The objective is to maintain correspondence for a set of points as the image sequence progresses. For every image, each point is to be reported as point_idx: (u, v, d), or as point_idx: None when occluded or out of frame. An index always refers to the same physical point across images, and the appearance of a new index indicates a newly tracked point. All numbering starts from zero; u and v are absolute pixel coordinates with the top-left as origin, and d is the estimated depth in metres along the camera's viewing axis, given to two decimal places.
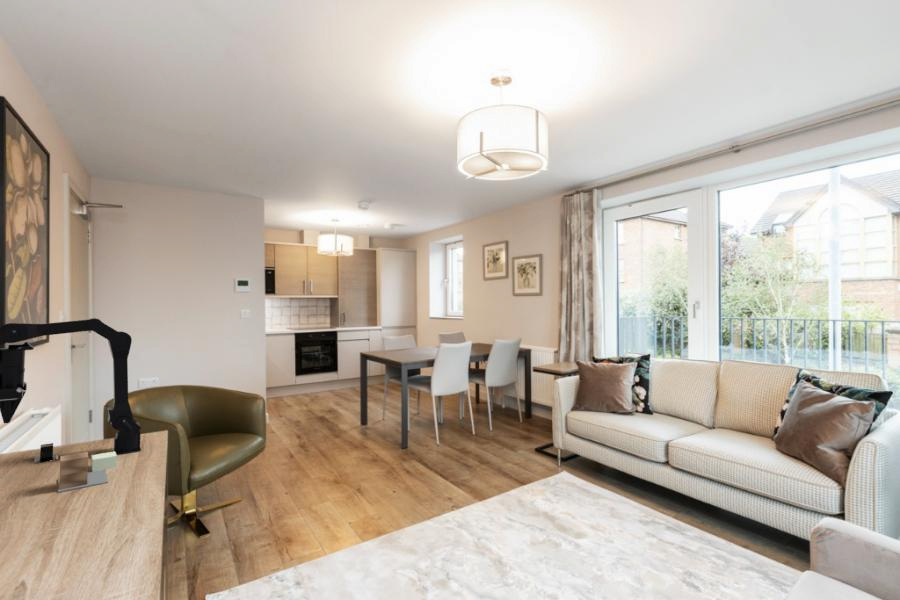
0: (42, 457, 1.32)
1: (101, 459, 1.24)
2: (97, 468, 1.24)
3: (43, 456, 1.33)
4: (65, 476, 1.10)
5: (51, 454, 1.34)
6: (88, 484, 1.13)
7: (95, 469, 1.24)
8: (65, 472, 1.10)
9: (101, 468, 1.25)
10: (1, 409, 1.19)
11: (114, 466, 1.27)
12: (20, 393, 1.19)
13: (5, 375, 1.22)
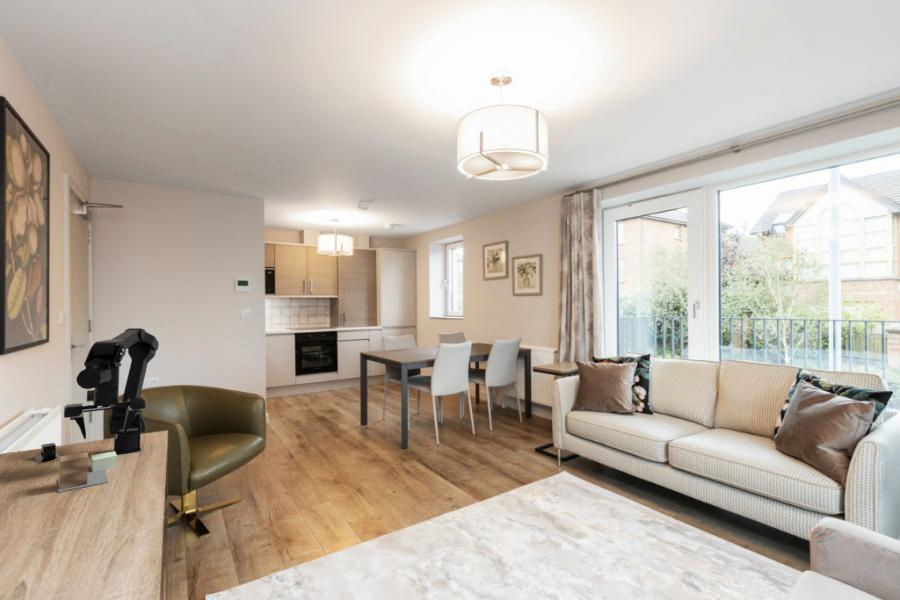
0: (45, 457, 1.33)
1: (101, 459, 1.25)
2: (97, 468, 1.24)
3: (46, 455, 1.33)
4: (65, 476, 1.10)
5: (54, 453, 1.35)
6: (88, 484, 1.13)
7: (95, 469, 1.24)
8: (65, 472, 1.10)
9: (102, 468, 1.25)
10: None
11: (115, 466, 1.27)
12: (65, 413, 1.20)
13: None
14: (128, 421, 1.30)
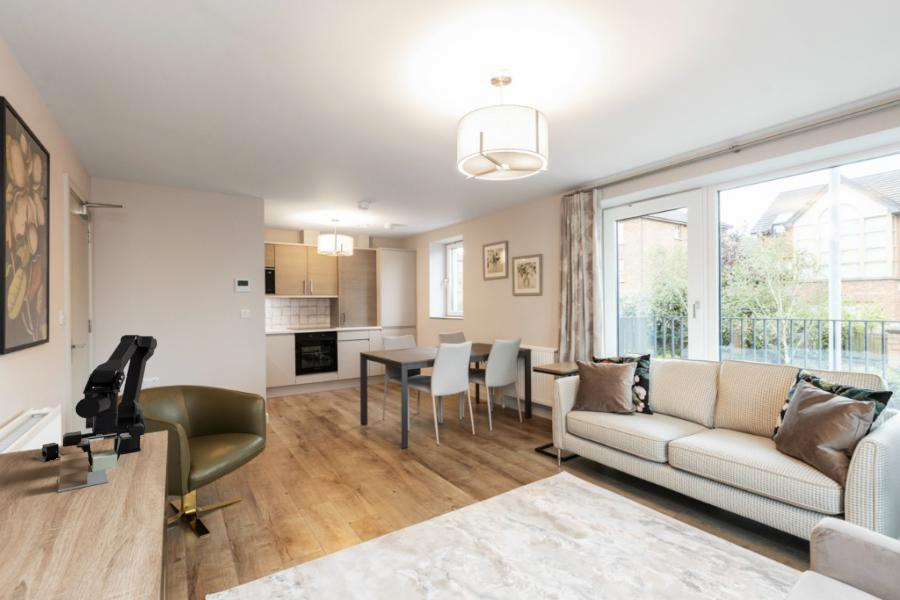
0: (48, 456, 1.33)
1: (102, 458, 1.25)
2: (98, 467, 1.24)
3: (49, 455, 1.34)
4: (65, 476, 1.10)
5: (57, 453, 1.35)
6: (88, 484, 1.13)
7: (96, 468, 1.24)
8: (65, 472, 1.10)
9: (102, 468, 1.25)
10: None
11: (115, 465, 1.27)
12: (64, 442, 1.19)
13: None
14: (120, 449, 1.28)
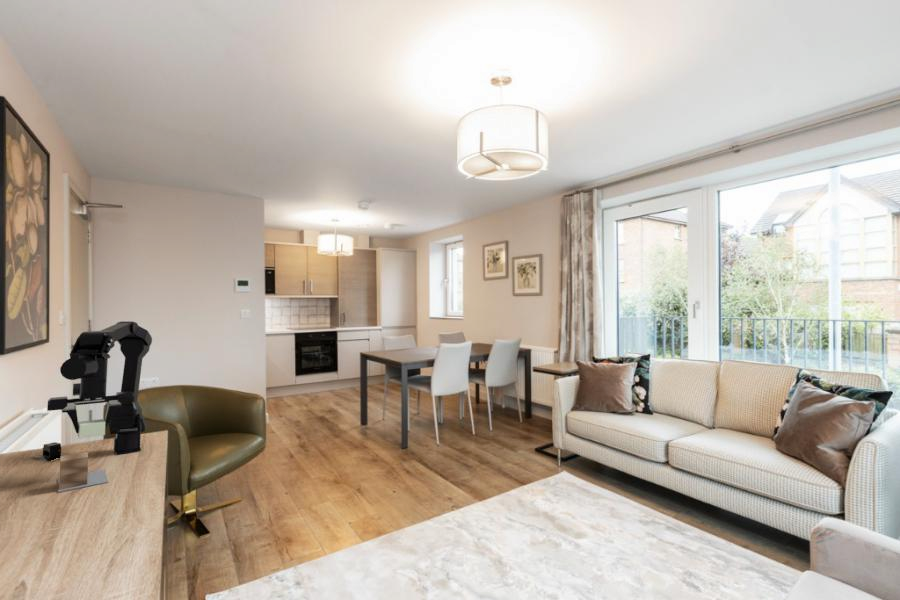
0: (51, 455, 1.34)
1: (89, 425, 1.18)
2: (84, 434, 1.18)
3: (52, 454, 1.34)
4: (65, 476, 1.10)
5: (59, 452, 1.36)
6: (88, 484, 1.13)
7: (82, 435, 1.17)
8: (65, 472, 1.10)
9: (89, 435, 1.18)
10: None
11: (103, 433, 1.20)
12: (48, 405, 1.13)
13: None
14: (109, 417, 1.22)
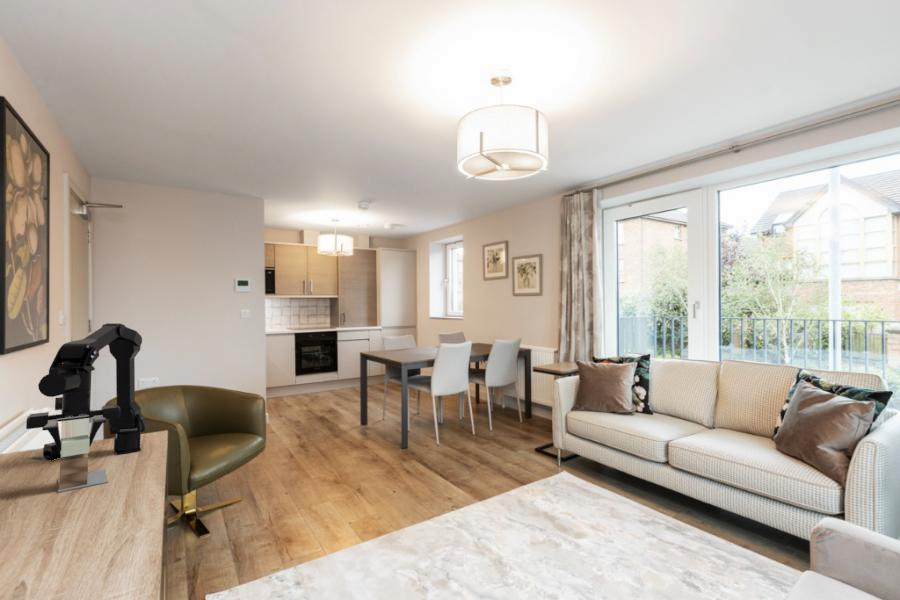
0: (53, 455, 1.34)
1: (72, 442, 1.11)
2: (67, 452, 1.11)
3: (54, 454, 1.35)
4: (65, 476, 1.10)
5: None
6: (88, 484, 1.13)
7: (65, 454, 1.10)
8: (65, 472, 1.10)
9: (72, 453, 1.11)
10: None
11: (87, 450, 1.13)
12: (27, 423, 1.06)
13: None
14: (93, 433, 1.15)
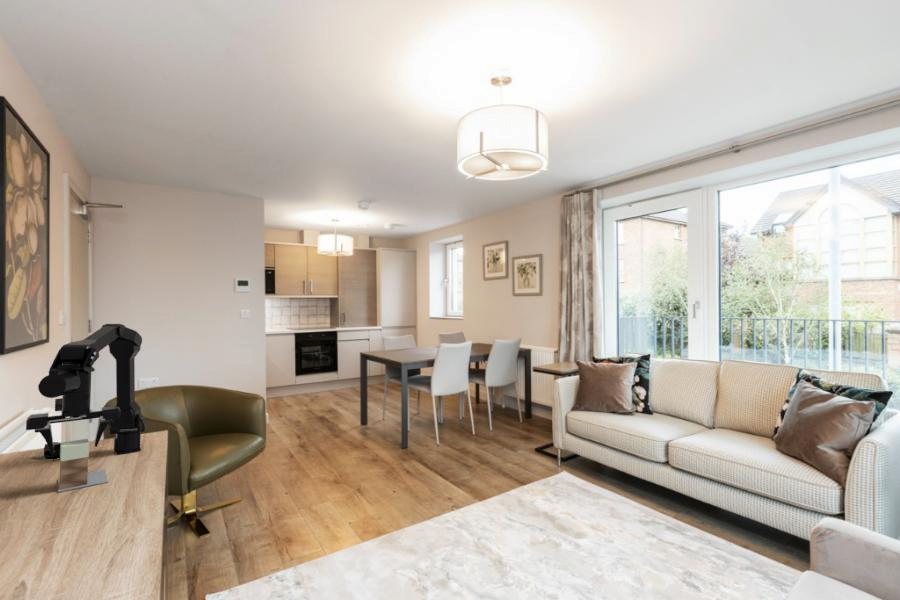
0: (55, 455, 1.35)
1: (71, 447, 1.11)
2: (66, 457, 1.11)
3: (56, 453, 1.35)
4: (65, 476, 1.10)
5: None
6: (88, 484, 1.13)
7: (64, 458, 1.10)
8: (65, 472, 1.10)
9: (72, 457, 1.11)
10: None
11: (87, 454, 1.13)
12: (27, 424, 1.06)
13: None
14: (100, 433, 1.16)
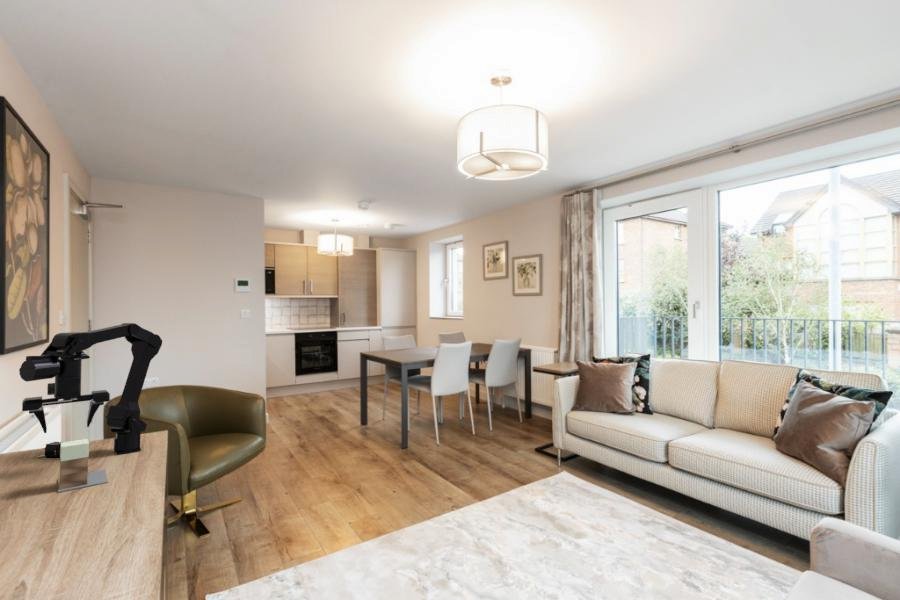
0: (58, 454, 1.36)
1: (71, 447, 1.11)
2: (66, 457, 1.11)
3: (58, 453, 1.36)
4: (65, 476, 1.10)
5: None
6: (88, 484, 1.13)
7: (64, 458, 1.10)
8: (65, 472, 1.10)
9: (72, 457, 1.11)
10: None
11: (87, 454, 1.13)
12: (23, 406, 1.16)
13: None
14: (91, 414, 1.26)
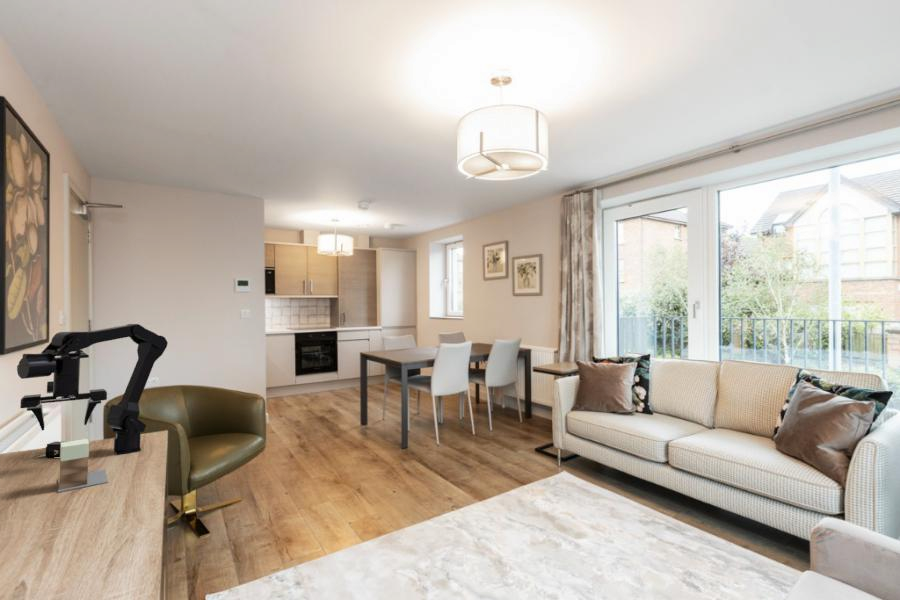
0: None
1: (71, 447, 1.11)
2: (66, 457, 1.11)
3: None
4: (65, 476, 1.10)
5: None
6: (88, 484, 1.13)
7: (64, 458, 1.10)
8: (65, 472, 1.10)
9: (72, 457, 1.11)
10: None
11: (87, 454, 1.13)
12: (21, 403, 1.18)
13: None
14: (89, 413, 1.28)
